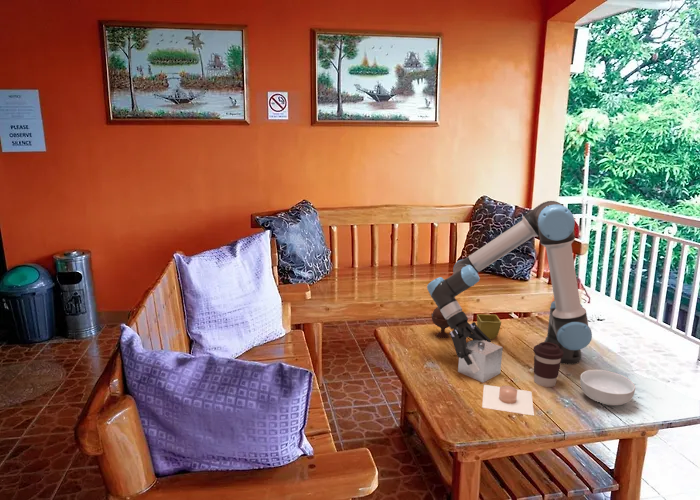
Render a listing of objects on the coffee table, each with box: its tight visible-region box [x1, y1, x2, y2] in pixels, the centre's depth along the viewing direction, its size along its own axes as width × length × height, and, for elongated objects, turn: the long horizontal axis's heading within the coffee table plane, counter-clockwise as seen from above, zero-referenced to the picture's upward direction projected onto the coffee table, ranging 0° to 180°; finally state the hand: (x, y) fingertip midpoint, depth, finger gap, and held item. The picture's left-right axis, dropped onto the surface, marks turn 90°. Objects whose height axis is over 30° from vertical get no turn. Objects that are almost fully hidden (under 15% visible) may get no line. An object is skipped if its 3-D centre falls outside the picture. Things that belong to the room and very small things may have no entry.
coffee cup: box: [533, 341, 564, 388], centre depth 184 cm, size 10×10×15 cm
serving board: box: [481, 384, 535, 416], centre depth 173 cm, size 16×16×1 cm
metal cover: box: [457, 339, 504, 384], centre depth 190 cm, size 11×11×12 cm
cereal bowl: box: [579, 369, 636, 406], centre depth 175 cm, size 17×17×7 cm
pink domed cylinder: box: [499, 385, 517, 404], centre depth 173 cm, size 6×6×4 cm
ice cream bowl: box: [430, 306, 450, 340], centre depth 225 cm, size 11×11×15 cm
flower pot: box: [476, 313, 502, 340], centre depth 226 cm, size 9×9×9 cm
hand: (486, 367), depth 189 cm, fingers closed on metal cover, 11 cm apart
